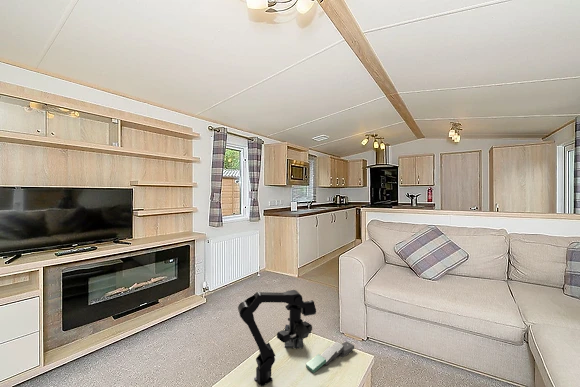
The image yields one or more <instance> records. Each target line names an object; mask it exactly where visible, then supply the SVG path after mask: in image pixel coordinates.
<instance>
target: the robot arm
mask: <svg viewBox="0 0 580 387" xmlns="http://www.w3.org/2000/svg"><path fill="white" fill-rule="evenodd" d="M262 303H277V304H278V303H279V304H281V303H284V304H287V305H285V309H286V310H287V311H289V315H288V316H289V317H288V318H287V321H288V322H289V324H288V325H289V326H288V329H289V330H290V331H287V332H286V331H285V329H283V330H280V331H277V333H276V339H277V340H279V341H281V342H282V343H284V344H285V342H287V341H289V340H290V341H291V343H292V345H293V348H292V349H294V350H296V349H298V348H297V345H298V342H299V339H303V340H305V339H307V338H308V337H309V335H310V334H311V333H312V331H313V325H312V324H311V323H309V322H308V321H306V320H305V321H303V319H302V315H303V316H304V317H309V316H313V315H316V314H317V308H316V304H315V301H314V300H309V301H308V300H307V301H304V300H303V295H301V293H300V292H299V291H297V290H296V289H292V290H291V289H290V290H287V291H285V292H284V291H283V292H275V291H274V292H270V291H269V292H267V291H266V292H261V291H257V292H255V293H254V294H253V295H251V296H249V297H248V298H246V299H245V300H244V301H241V302H240V303H239V304H238V306H237V311H238V314H239V316H240V318H241V320H242V321H243V322H244V323H245V324H246V325H247V327H248V329H249V332H250V333H251V335H252V337H253V340H254V341H255V344H256V346H257V347H258V351H259V354H258V355H257V356H256V358H255V361H256V364H257V366H256V369H255V370H256V371H255V372H256V376H255V377H254V381H256V382H257V383H258V385H259V386H261V387H264V386H265V385H266V384H268V383H270V382H272V381H273V380H274V379H273V378H272V367H273V365H274V363H275V361H276V358H275V357H276V354H275V351H274V350H273V347H272V346H271V343H270V342H267V343H266V341H265V340H264V338H263V336H262V333H261V331H260V329H259V327H258V325H257V323H256V321H255V317H254V313H255V312H256V310H257V309H258V308H259V306H260V305H261V304H262Z"/></svg>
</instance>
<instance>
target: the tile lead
mask: <svg viewBox="0 0 580 387" xmlns="http://www.w3.org/2000/svg"><path fill="white" fill-rule="evenodd" d="M325 363H326V359H325V358H323V357H322V356H321V354H320V353H318V354H316V355H315V356H314V357H313V358H312V359H310V360H309V361H307V362H306V363H305V367H306V368H307V369H308V370H309V371H311V373H313V374H315V372H317V371H318V370H319V369H320V368H321V367H323V366H325Z"/></svg>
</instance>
